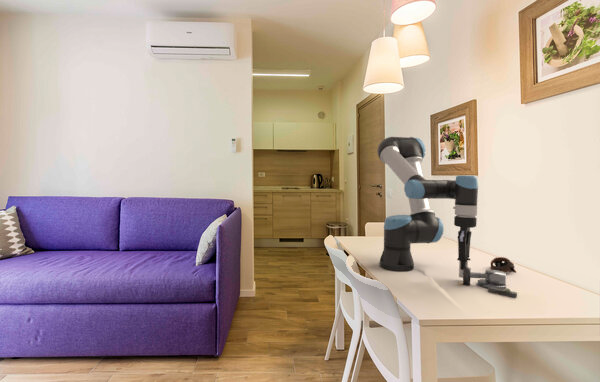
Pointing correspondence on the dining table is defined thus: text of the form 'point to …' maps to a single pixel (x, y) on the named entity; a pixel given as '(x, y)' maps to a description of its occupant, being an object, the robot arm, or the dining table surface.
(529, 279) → the dining table surface
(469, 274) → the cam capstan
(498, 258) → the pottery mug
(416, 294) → the dining table surface
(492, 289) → the stand board
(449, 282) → the dining table surface
